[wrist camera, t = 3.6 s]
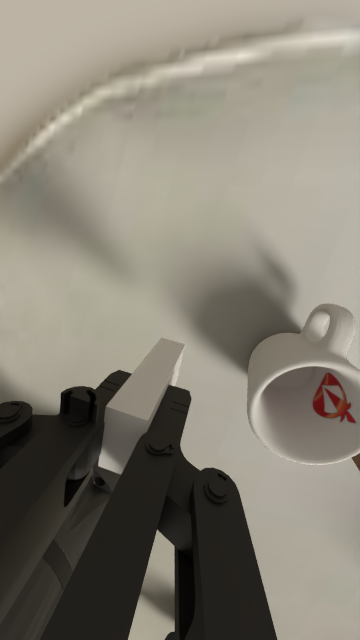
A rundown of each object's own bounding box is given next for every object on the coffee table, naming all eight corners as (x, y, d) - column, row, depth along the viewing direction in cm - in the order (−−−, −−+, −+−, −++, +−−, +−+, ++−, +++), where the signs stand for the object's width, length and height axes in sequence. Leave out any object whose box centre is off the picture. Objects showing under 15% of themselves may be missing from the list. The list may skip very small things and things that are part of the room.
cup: (268, 281, 20) (293, 297, 13) (361, 307, 20) (446, 341, 12) (229, 382, 24) (231, 441, 16) (307, 408, 23) (347, 483, 15)
